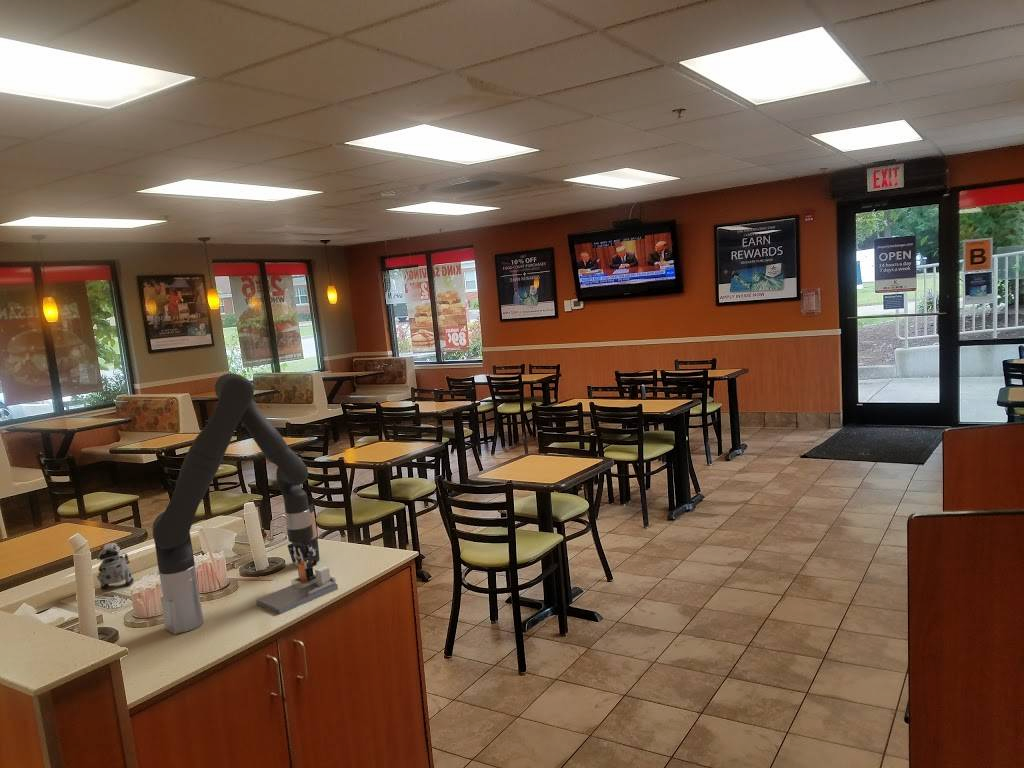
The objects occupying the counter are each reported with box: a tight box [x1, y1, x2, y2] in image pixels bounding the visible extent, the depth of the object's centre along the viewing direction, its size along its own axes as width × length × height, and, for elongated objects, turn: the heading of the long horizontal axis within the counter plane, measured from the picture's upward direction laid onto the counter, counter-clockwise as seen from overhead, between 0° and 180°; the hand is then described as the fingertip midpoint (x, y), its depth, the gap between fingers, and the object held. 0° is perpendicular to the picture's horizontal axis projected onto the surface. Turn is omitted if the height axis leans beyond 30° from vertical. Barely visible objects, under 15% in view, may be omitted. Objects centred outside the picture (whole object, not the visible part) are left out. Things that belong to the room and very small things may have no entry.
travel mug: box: [305, 501, 321, 563], centre depth 247 cm, size 8×8×20 cm
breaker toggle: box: [314, 566, 331, 586], centre depth 222 cm, size 3×3×5 cm
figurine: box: [96, 542, 135, 591], centre depth 239 cm, size 9×12×15 cm
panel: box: [255, 573, 339, 615], centre depth 218 cm, size 20×13×3 cm, turn 138°
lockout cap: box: [297, 560, 311, 581], centre depth 224 cm, size 4×4×6 cm
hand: (306, 577), depth 224 cm, fingers closed on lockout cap, 3 cm apart
